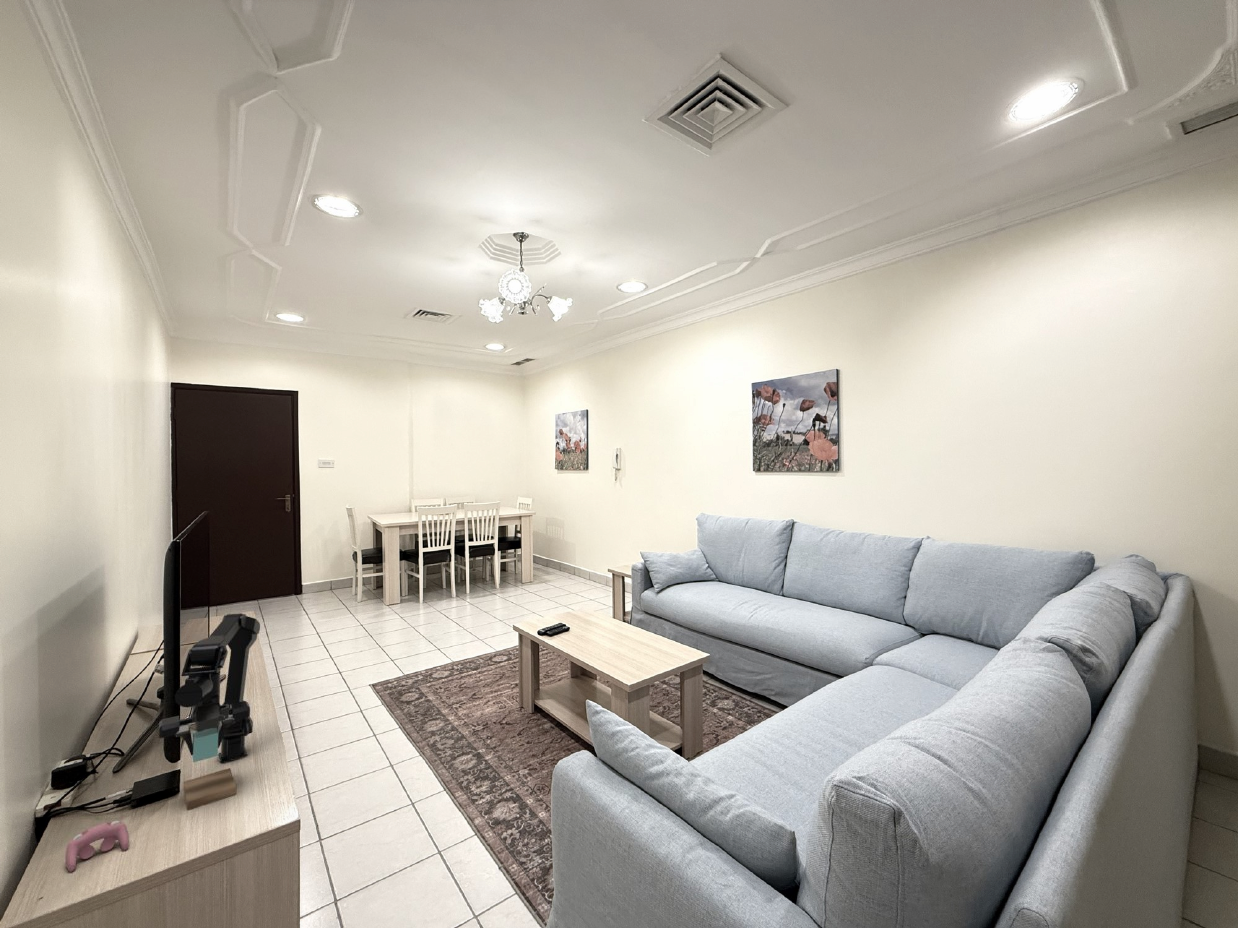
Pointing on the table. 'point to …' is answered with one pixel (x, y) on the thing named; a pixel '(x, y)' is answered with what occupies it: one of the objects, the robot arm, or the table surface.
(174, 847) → the table surface
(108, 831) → the video game controller
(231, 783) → the base plinth
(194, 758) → the teal block
